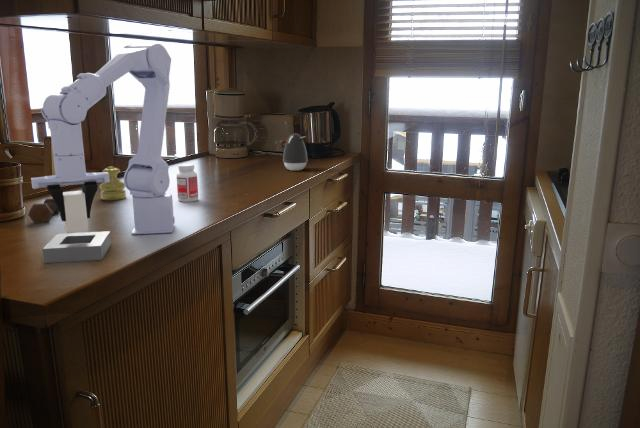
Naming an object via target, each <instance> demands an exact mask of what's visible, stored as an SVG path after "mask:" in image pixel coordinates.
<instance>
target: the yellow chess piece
mask: <svg viewBox="0 0 640 428" xmlns="http://www.w3.org/2000/svg"><path fill="white" fill-rule="evenodd" d="M102 172H108V173H109V179H110V182H101V183H100V184H99V188H100V190H101V191H100V199H101V200H103V201H111V202H112V201H118V200H123V199H126V198H127V195H126V192H127V190H126V189H125V188H126V187H125V184H124V181H121V180H120V179H119V178H118V177H117V176H118V174H119V173H120V172H121V170H120V168H118V167H115V166H113V165H111V166H107V167H106V168H104V169H103V170H102Z"/></svg>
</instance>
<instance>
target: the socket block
mask: <svg viewBox="0 0 640 428" xmlns="http://www.w3.org/2000/svg"><path fill="white" fill-rule="evenodd" d="M111 245H112V238H111V231H110V230H109V231H84V232H76V233H69V234H68V233H67V232H64V233H63V232H62V233H56V235H55V236H53V237H52V239H50V240H49V242H48V243H46V244H45V246H44V247H43V248H42V256H43V263H44V264H50V263H52V264H53V263H67V262H69V263H71V262H86V261H102V260H103V259H104V258H105V256H106V254H107V252H108V251H109V248H110V247H111Z"/></svg>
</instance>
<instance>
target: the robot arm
mask: <svg viewBox="0 0 640 428" xmlns="http://www.w3.org/2000/svg"><path fill="white" fill-rule="evenodd" d="M171 63H172V57H171V56H170V54H169V52H168V51H167V49H166V47H165V46H164V45H162V44H161V43H152V44H126V45H125V46H123V48H120V49H118V51H117V54H116V55H114V56H113V57H112V58H111V59H110V60H109V61H108V62H106V63H105V64H104V65H103V66H102V67H101V68H100V69H99V70H97V71H96V72H95V73H91V72H86V73H84V72H82V73H81V72H80V73H79V74H78V75H77V76H76V78H77V79H76V80H75V81H74V82H72V83H70V84H69V85H68V86H63V87H61V89H60V90H61V91H60V92H59V94H58V93H54V94H53V93H52V94H50V95H48V96H47V97H46V98H45V99H44V102H43V104H42V108H40V113H41V115H42V117H43V118H44V120H46V122H47V126H48V129H49V131H50V137H51V138H50V139H51V146H52V148H51V149H52V154H53V155H52V156H53V157H52V158H53V166H54V173H55V174H54V175H45V176H38V177H31V178H30V180H31V187H32V189H33V190H36V189H40V188H46V190H47V191H48V193H49V195H50V196H51V198H53V199H54V201H55V203H56V205H57V207H58V210H59V213H58V214H59V216H60V220H61V222H64V221H66V215H65V210H64V203H63V192H64V191H63V190H62V186H63V187H64V186H72V185H73V186H74V185H75V186H76V185H81V189H82V190H81V191H82V192H83V193H84V194H85V201H86V211H87V219H91V210H92V206H93V205H92V204H93V201H94V198H95V196H96V193H97V191H98V187H99V186H98V185H99V184H97V183H104V182H110V179H109V173H108V172H103V171H102V172H99V171H98V172H87V170H86V169H87V168H86V162H85V161H86V159H85V150H84V141H83V130H82V129H83V128H82V122H84V121H85V119H86V116H87V113H88V111H89V109H90V108H91V107H93V106H94V105H95V104H96V103H98V102H99V101H100V100H102V99H103V98H104V97H105V96H106V95H107V87H108V86H111V84H113V83H114V82H116V81H117V80H119V79H120V78H122V77H123V76H125V75H127V73H129V74H130V75H131V76H132V77H133V78H135V80H137V81H138V82H139V83H140V84H142V86H143V87H144V89H145V90H144V97H143V104H142V112H141V113H142V114H141V119H140V120H141V122H140V128H139V138H138V145H137V153H136V154H135V155H134V156H132V157H131V158H130V159H129V160H128V166H127V168H126V170H125V172H124V174H123V183H124V184H125V188H126V189H127V190H128V191H129V195H131V196H132V207H133V220H134V227H133V229H132V230H131V232H130V233H131V235H147V234H148V235H149V234H166V233H167V234H168V233H171V234H172V233H173V232H174V227H175V223H176V222H175V216H174V203H173V202H174V201H173V194H171V193H168V194H167V193H166V192H167V191H168V190H169V186H170V176H169V174H170V173H169V168H170V165H169V164H168V163H167V162H166V161H165V159H164V158H163V157H162V150H163V141H164V136H165V135H164V134H165V127H166V118H167V111H168V102H169V96H170V95H169V94H170V87H171V83H170V82H171V81H170V73H171V72H170V71H171V66H172V65H171Z"/></svg>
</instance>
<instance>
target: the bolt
mask: <svg viewBox="0 0 640 428" xmlns="http://www.w3.org/2000/svg"><path fill="white" fill-rule="evenodd" d="M58 214H60V213H59V210H58V207H57V205H56V203H55V201H54V199H53V198H52V197H49V198H46V199H45V200H44V202H43V203H34V204H32V205H31V207H30V210H29V211H28V216H29V218H30V219H31V221H32V222H33V223H34V224H48V223H49V222H50V221H51V220H52V217H53V215H58Z"/></svg>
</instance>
